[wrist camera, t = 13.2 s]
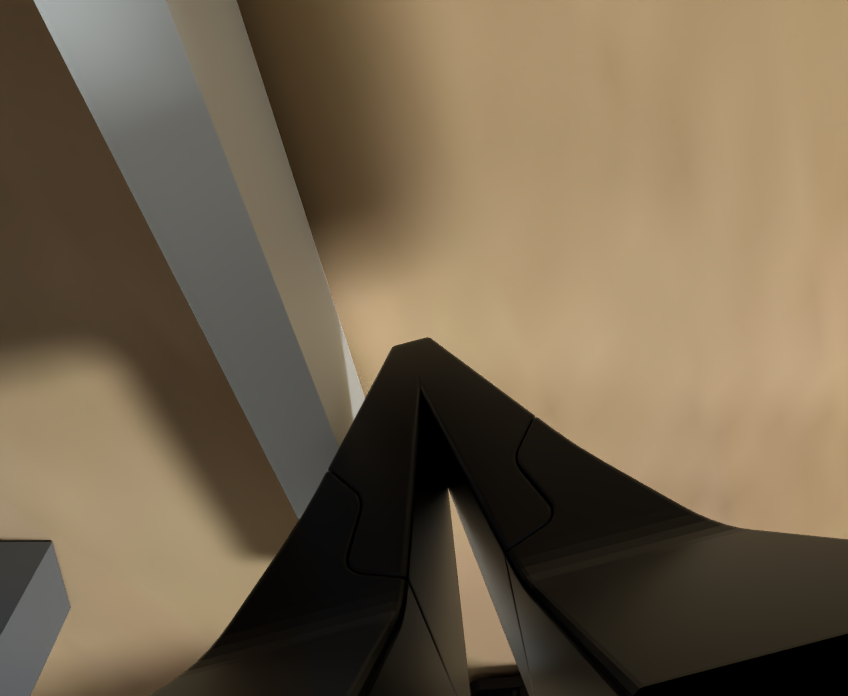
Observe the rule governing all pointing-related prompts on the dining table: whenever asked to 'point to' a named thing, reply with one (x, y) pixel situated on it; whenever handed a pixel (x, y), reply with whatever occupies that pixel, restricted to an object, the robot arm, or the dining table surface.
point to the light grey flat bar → (221, 211)
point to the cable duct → (28, 612)
